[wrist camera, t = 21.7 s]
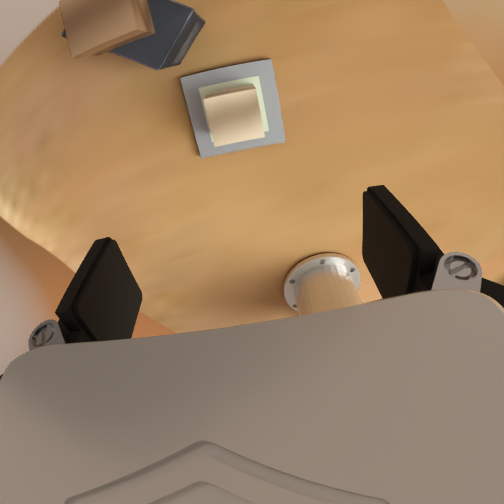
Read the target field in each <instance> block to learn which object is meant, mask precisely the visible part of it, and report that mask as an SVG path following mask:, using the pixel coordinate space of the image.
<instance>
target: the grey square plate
mask: <svg viewBox="0 0 504 504" xmlns="http://www.w3.org/2000/svg"><path fill="white" fill-rule="evenodd" d="M180 80H181V84H182V88H183V92H184V95H185V99H186V103H187V107H188V111H189V115H190V118H191V122H192V126H193V130H194V134H195V137H196V141H197V145H198V149H199V152H200V156H201V158H206V157H210V156H215V155H219V154H224V153H229V152H234V151H239V150H244V149H249V148H254V147H259V146H265V145H271V144H276V143H282V142H286V140H285V134H284V128H283V121H282V115H281V109H280V104H279V98H278V92H277V87H276V81H275V76H274V70H273V65H272V60H271V59H267V60H260V61H254V62H248V63H243V64H237V65H232V66H227V67H223V68H218V69H214V70H209V71H205V72H201V73H197V74H193V75H189V76H185V77H181V78H180ZM251 84H253V85H254V86H255V88H256V91H257V96H258V102H259V107H260V112H261V118H262V123H263V128H264V134H265V137H263V138H257V139H252V140H247V141H241V142H236V143H231V144H226V145H222V146H217V147H215V146H214V142H213V138H212V134H211V129H210V125H209V121H208V117H207V113H206V109H205V105H204V101H203V99H204V98H205V96H206V95H207V93H211V92H215V91H220V90H225V89H230V88H235V87H240V86H245V85H251Z"/></svg>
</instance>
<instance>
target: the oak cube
mask: <svg viewBox="0 0 504 504" xmlns="http://www.w3.org/2000/svg"><path fill="white" fill-rule="evenodd" d="M203 101H204V105H205V109H206V113H207V117H208V121H209V125H210V129H211V134H212V138H213V142H214V146H215V147H217V146H222V145H226V144H231V143H236V142H241V141H247V140H252V139H257V138H263V137H265V134H264V128H263V123H262V118H261V112H260V107H259V102H258V96H257V91H256V88H255V86H254V85H253V84H251V85H245V86H240V87H235V88H230V89H225V90H220V91H215V92H211V93H207V95H206V96H205V98H204V99H203Z"/></svg>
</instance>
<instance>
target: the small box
mask: <svg viewBox="0 0 504 504" xmlns="http://www.w3.org/2000/svg"><path fill="white" fill-rule="evenodd" d="M147 1H148V5H149V9H150V13H151V17H152V22H153V26H154V30H155V34H152V35H149V36H147V37H144V38H141V39H138V40H135V41H133V42H130V43H127V44H125V45H122V46H120V47H117V48H115V49H113V50H110V51H109V52H111V53H114V54H117V55H120V56H122V57H125V58H128V59H130V60H133V61H135V62H138V63H140V64H143V65H145V66H148V67H150V68H153V69H155V70H160V69H164V68H167V67H171V66H176V65H179V64H180V63H181V61H182V60H183V58H184V56H185V55H186V53H187V51H188V50H189V48H190V46H191V45H192V43H193V41H194V40H195V38H196V36H197V35H198V33H199V32H200V30H201V29H202V27H203V25H204V24H205V20H203V19H202V18H201V17H200V16H199V15H197V13H196V12H195V10H194V9H193V8H190V7H188V6H186V5H183V4H180V3H178V2H175V1H173V0H147ZM62 37H65V38H67V36H66V32H65V28H64V31H63V33H62Z"/></svg>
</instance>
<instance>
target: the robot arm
mask: <svg viewBox="0 0 504 504" xmlns="http://www.w3.org/2000/svg"><path fill="white" fill-rule="evenodd" d="M362 255H363V260H364V262H365V264H366V266H367V268H368V270H369V272H370V274H371V276H372V278H373V280H374V282H375V284H376V286H377V288H378V290H379V292H380V294H381V296H382V298H383V299H380V300H376V301H371V302H367V303H362V302H361V299H360V297H359V295H358V292H357V291H358V289H359V286H360V281H361V277H360V273H359V270H358V268H357V266H356V264H355V263H354V262H353V261H352V260H351V259H349V258H348V257H346V256H344V255H341V254H336V253H324V254H318V255H314V256H311V257H309V258H307V259H305V260H303V261H301V262H300V263H298V264H297V265H296V266H295V267H294V268H293V269H292V270H291V271H290V272H289V274H288V275H287V277H286V279H285V282H284V286H283V288H284V296H285V299H286V302H287V303H288V305H289V306H290V307H291V308H293V309H294V310H295V311H298V315H299V316H295V317H290V318H284V319H278V320H272V321H266V322H260V323H253V324H247V325H240V326H233V327H226V328H219V329H212V330H204V331H196V332H188V333H180V334H171V335H163V336H153V337H143V338H132V339H131V337H132V333H133V330H134V325H135V322H136V319H137V315H138V312H139V309H140V305H141V302H142V292H141V290H140V288H139V286H138V284H137V282H136V280H135V279H134V277H133V275H132V273H131V271H130V269H129V267H128V265H127V263H126V261H125V259H124V257H123V255H122V253H121V251H120V249H119V246H118V244H117V242H116V241H115V240H112V239H111V238H110V237H106V238H102V239H98V240H96V241H95V242H94V243H93V245H92V247H91V248H90V250H89V252H88V253H87V255H86V257H85V258H84V260H83V262H82V263H81V265H80V267H79V269H78V270H77V272H76V274H75V276H74V278H73V279H72V281H71V283H70V285H69V287H68V288H67V290H66V292H65V294H64V296H63V298H62V300H61V302H60V304H59V306H58V308H57V309H56V312H55V313H56V315H57V316H58V317H59V321H58V323H57V321H55V320H47V321H44V322H43V323H41V324H40V325H38V326H37V327H36V328H35V329H34V331H33V332H32V334H31V335H30V338H29V349H30V351H29V352H26V353H25V354H22V355H20V356H19V357H17V358H16V359H14V360H13V361H12V362H11V363H10V364H9V365H8V367H7V369H6V370H5V372H4V374H2V375H1V376H0V504H504V286H503V285H500V284H498V283H495V282H492V281H489V280H487V279H484V278H482V268H481V266H480V264H479V263H478V262H477V261H476V260H475V259H474V258H472V257H471V256H469V255H467V254H464V253H459V252H450V253H447V254H445V255H444V254H443V252H442V251H441V250H440V249H439V247H438V246H437V244H436V243H435V242H434V241H433V239H432V238H431V237H430V236H429V235H428V233H427V232H426V231H425V230H424V229H423V228H422V226H421V225H420V224H419V223H418V222H417V221H416V220H415V218H414V217H413V216H412V215H411V214H410V213H409V212H408V211H407V210H406V208H405V207H404V206H403V205H402V204H401V203H400V202H399V201H398V200H397V199H396V198H395V197H394V195H393V194H392V193H391V192H390V191H389V190H388V189H387V188H386V187H385V186H384V185H379V186H372V187H368V188H367V191H365V192H363V244H362Z"/></svg>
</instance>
